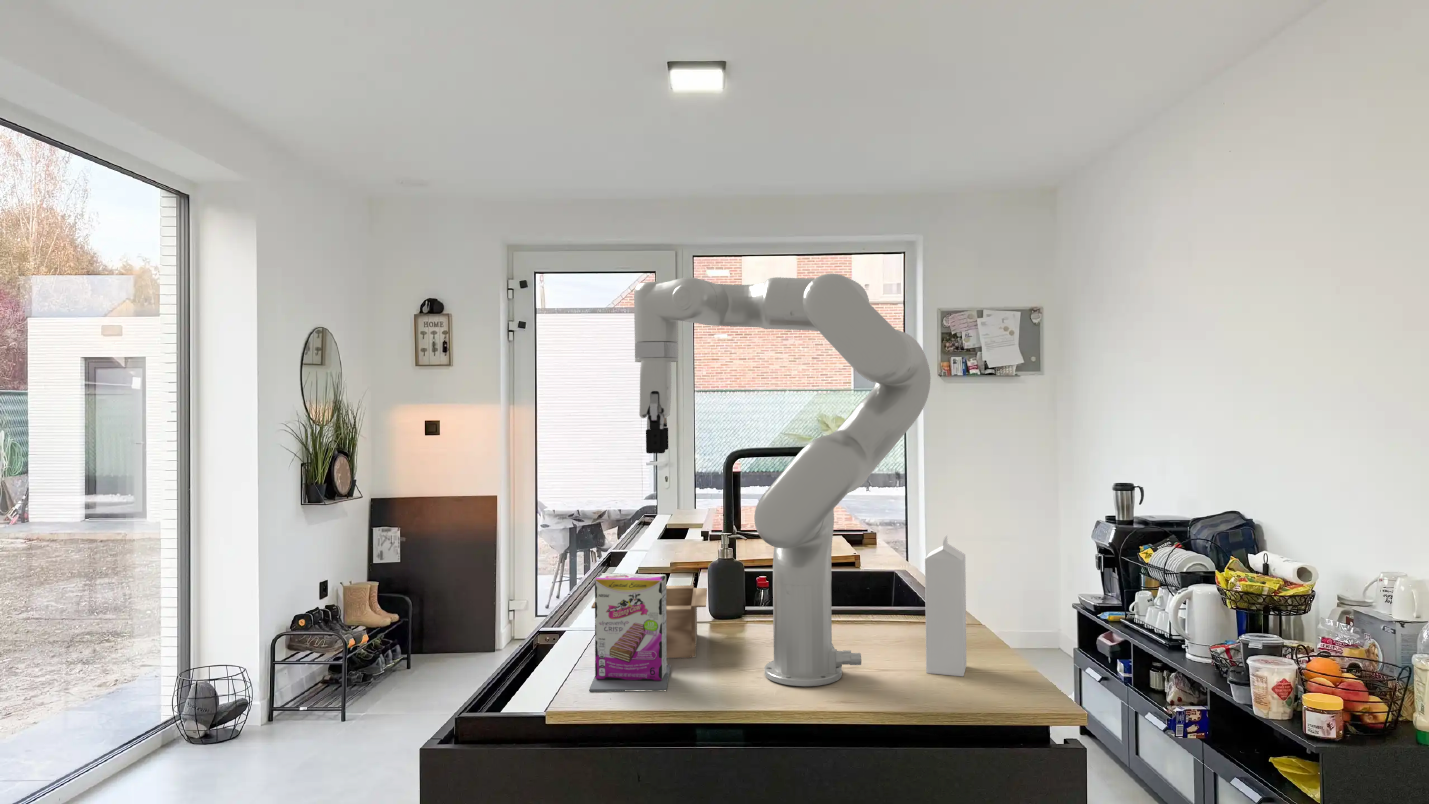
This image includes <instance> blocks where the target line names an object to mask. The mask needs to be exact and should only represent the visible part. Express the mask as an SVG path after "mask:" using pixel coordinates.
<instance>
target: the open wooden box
mask: <svg viewBox="0 0 1429 804" xmlns="http://www.w3.org/2000/svg"><path fill="white" fill-rule="evenodd" d="M694 586H695V585H692V584H691V585H666V621H667V622H666V627H667V628H666V638H667V659H671V658H672V659H673V658H674V659H675V658H676V659H677V658H679V659H680V658H681V659H682V658H683V659H684V658H685V659H686V658H688V659H689V658H690V659H691V658H696V654H697V653H696V652H697V638H698V611H697V610H698V608H707V594H708V588H706V587H699V588H698V587H694ZM591 609H595V601H593V603H592V605H591Z"/></svg>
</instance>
